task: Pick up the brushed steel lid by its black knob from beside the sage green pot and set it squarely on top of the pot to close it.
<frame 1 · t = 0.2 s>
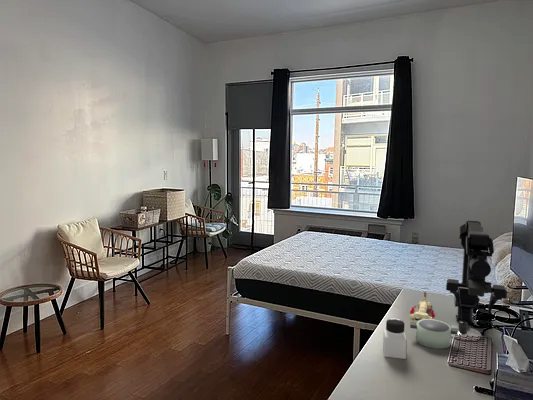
hand: (473, 311, 141), 14 cm above the table, tool pointing down, fingers open, 9 cm apart
pot: (432, 340, 149), on the table
medicine bottle: (394, 353, 139), on the table
cat figure: (422, 317, 171), on the table
lid: (462, 334, 155), on the table
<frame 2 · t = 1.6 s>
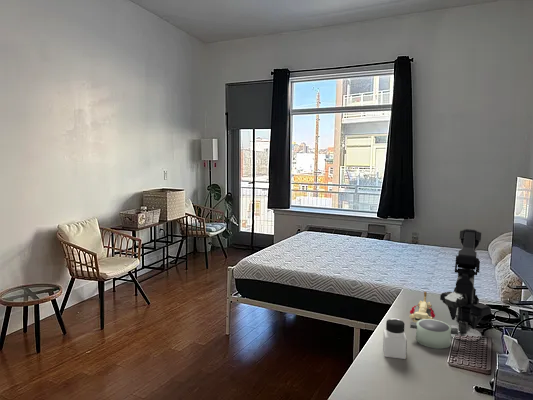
hand: (463, 324, 154), 4 cm above the table, tool pointing down, fingers open, 9 cm apart
nothing on the table moved.
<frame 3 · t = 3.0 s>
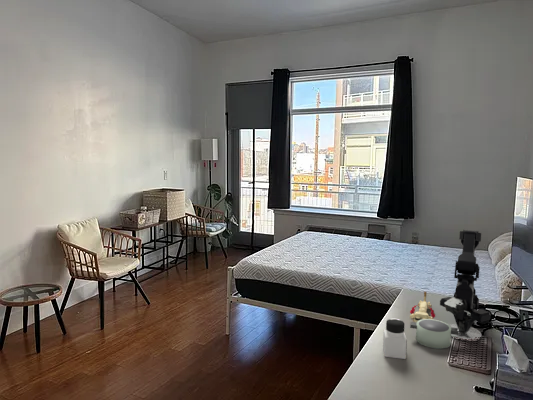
hand: (462, 329, 155), 1 cm above the table, tool pointing down, fingers closed on lid, 3 cm apart
lid: (462, 333, 155), on the table, touching gripper
everything else where it was.
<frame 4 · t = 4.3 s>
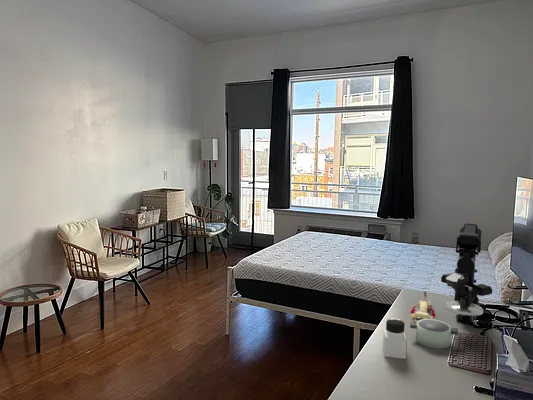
hand: (464, 305, 153), 11 cm above the table, tool pointing down, fingers closed on lid, 3 cm apart
lid: (463, 309, 154), point 10 cm above the table, touching gripper
everything else where it was.
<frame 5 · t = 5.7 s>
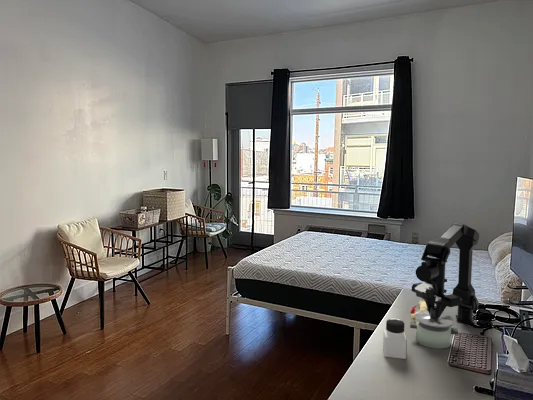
hand: (434, 316, 148), 10 cm above the table, tool pointing down, fingers closed on lid, 3 cm apart
lid: (434, 320, 148), point 8 cm above the table, touching gripper
everything else where it was.
when the fingers open (8 cm above the table, at t = 6.5 s): lid stays where it is, resting on pot.
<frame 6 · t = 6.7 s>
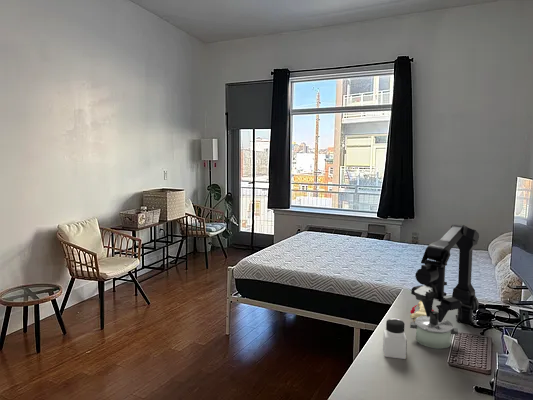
hand: (434, 319, 148), 8 cm above the table, tool pointing down, fingers open, 5 cm apart
lid: (433, 325, 148), point 6 cm above the table, touching pot
everything else where it was.
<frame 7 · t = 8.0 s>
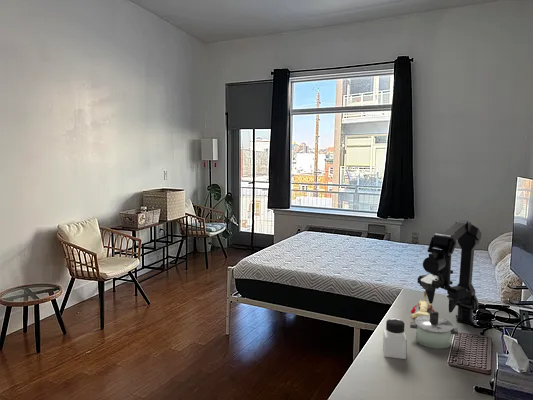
hand: (440, 307, 148), 13 cm above the table, tool pointing down, fingers open, 9 cm apart
nothing on the table moved.
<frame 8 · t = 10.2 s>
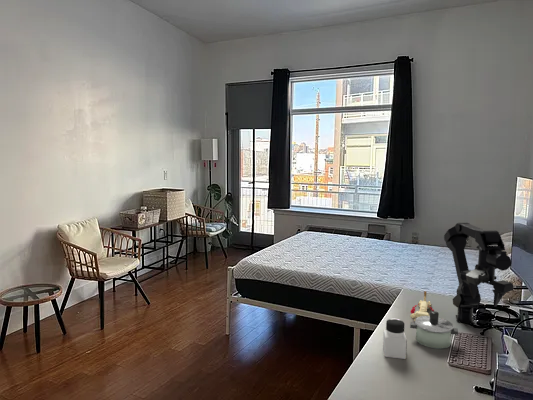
hand: (484, 302, 153), 13 cm above the table, tool pointing down, fingers open, 9 cm apart
nothing on the table moved.
at the end: lid 0.1 cm off-centre on the pot, point 6.0 cm above the pot's base; lid tilted 0°; the gripper is holding nothing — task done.
